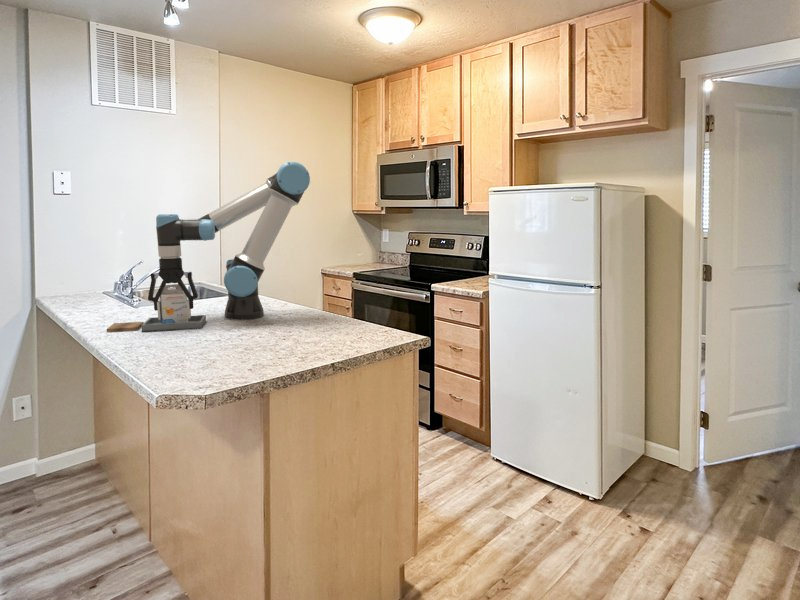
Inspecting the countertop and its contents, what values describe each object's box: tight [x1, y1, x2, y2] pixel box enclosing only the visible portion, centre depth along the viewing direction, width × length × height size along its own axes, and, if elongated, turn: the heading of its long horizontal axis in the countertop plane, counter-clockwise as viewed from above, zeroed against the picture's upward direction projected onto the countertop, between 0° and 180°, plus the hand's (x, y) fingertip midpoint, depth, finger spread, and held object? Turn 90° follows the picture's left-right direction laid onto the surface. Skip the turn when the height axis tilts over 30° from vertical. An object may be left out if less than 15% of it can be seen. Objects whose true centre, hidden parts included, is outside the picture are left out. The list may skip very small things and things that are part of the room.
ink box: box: [159, 283, 188, 324], centre depth 193 cm, size 8×5×15 cm, turn 123°
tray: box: [140, 314, 207, 333], centre depth 194 cm, size 20×14×2 cm
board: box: [106, 321, 145, 333], centre depth 192 cm, size 10×10×1 cm
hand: (174, 318), depth 194 cm, fingers closed on ink box, 9 cm apart
